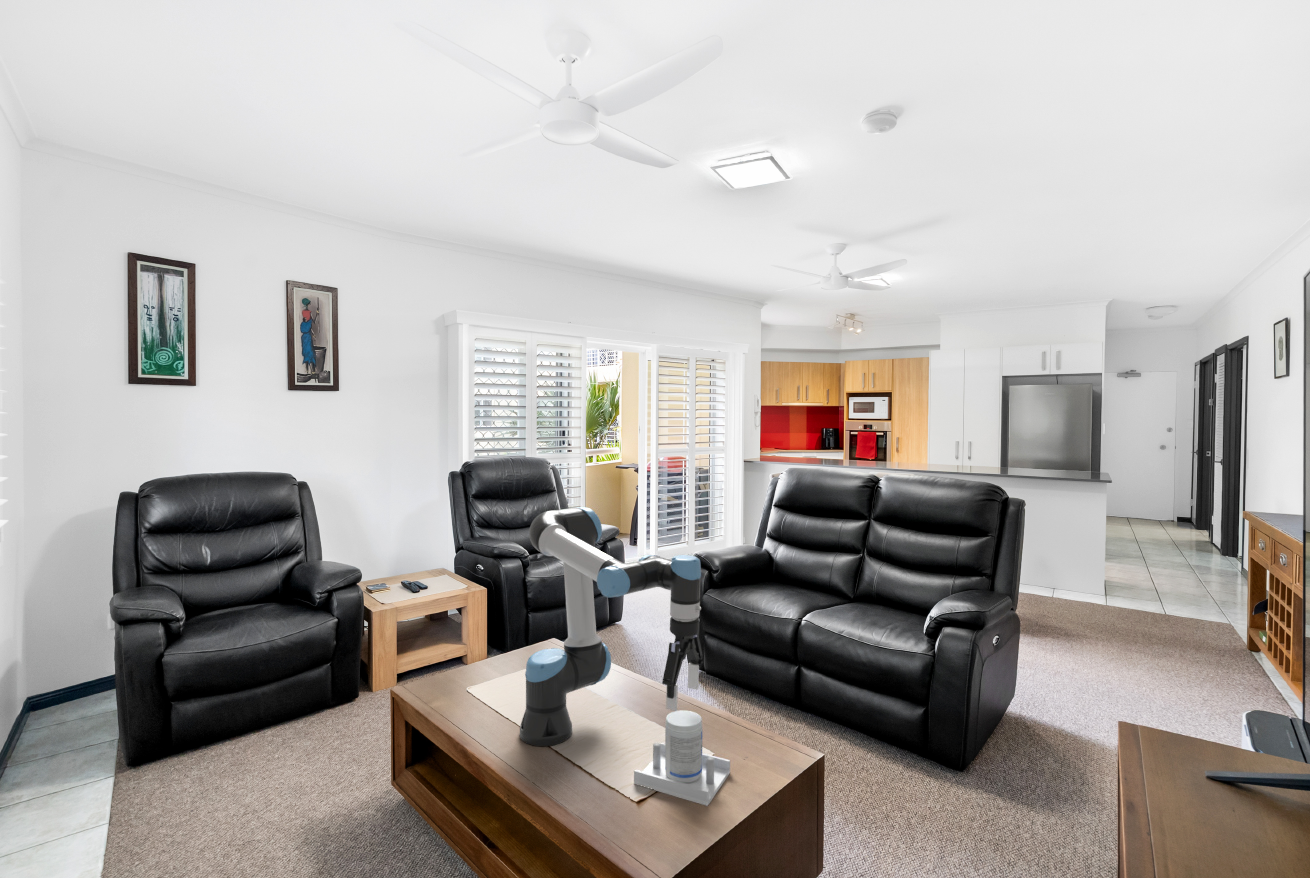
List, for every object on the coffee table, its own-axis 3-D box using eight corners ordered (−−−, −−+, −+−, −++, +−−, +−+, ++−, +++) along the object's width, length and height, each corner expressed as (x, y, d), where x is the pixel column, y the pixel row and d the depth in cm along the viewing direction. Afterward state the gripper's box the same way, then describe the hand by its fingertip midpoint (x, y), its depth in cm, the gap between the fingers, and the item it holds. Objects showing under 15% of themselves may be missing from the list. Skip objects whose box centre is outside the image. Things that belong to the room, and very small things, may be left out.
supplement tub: (709, 777, 165) (710, 720, 164) (679, 788, 160) (680, 730, 159) (686, 760, 173) (687, 706, 172) (657, 770, 168) (658, 715, 167)
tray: (633, 784, 163) (634, 757, 163) (661, 754, 178) (661, 729, 177) (707, 805, 154) (707, 777, 154) (730, 772, 169) (730, 746, 169)
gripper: (678, 634, 152) (676, 722, 153) (716, 606, 174) (713, 683, 175) (649, 629, 155) (647, 715, 156) (690, 601, 177) (688, 677, 178)
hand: (682, 698), depth 166 cm, fingers open, 13 cm apart
